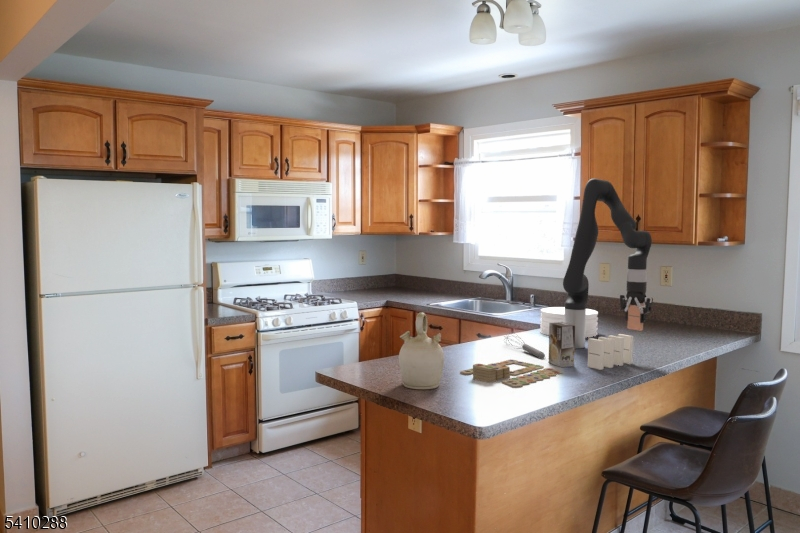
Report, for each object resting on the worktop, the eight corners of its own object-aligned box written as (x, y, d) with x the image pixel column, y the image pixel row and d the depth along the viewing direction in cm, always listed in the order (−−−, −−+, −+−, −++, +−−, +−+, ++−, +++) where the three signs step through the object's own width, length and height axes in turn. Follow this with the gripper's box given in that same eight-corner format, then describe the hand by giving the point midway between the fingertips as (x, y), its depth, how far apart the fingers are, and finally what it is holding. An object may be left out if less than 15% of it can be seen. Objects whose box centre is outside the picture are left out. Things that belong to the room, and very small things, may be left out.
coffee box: (575, 366, 248) (576, 325, 246) (561, 367, 245) (562, 326, 244) (561, 361, 256) (562, 321, 255) (547, 362, 254) (548, 322, 253)
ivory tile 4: (600, 369, 242) (601, 341, 242) (587, 366, 247) (588, 338, 246) (603, 369, 243) (604, 340, 243) (590, 366, 248) (591, 338, 247)
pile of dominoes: (515, 390, 213) (516, 374, 213) (454, 376, 233) (454, 361, 232) (570, 373, 238) (570, 359, 237) (510, 361, 257) (510, 348, 257)
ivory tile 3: (610, 367, 246) (611, 339, 245) (597, 364, 251) (598, 337, 250) (613, 367, 247) (614, 339, 246) (600, 364, 252) (601, 336, 251)
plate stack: (588, 340, 304) (589, 316, 303) (532, 334, 318) (532, 311, 317) (603, 332, 327) (604, 309, 327) (550, 326, 342) (551, 305, 341)
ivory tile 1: (629, 364, 253) (630, 336, 252) (616, 361, 257) (617, 334, 257) (632, 363, 254) (633, 336, 253) (619, 360, 258) (620, 333, 258)
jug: (389, 386, 214) (390, 313, 212) (414, 377, 227) (415, 308, 225) (428, 394, 206) (429, 317, 204) (452, 384, 219) (453, 311, 217)
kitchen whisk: (538, 360, 258) (539, 345, 258) (500, 345, 290) (500, 331, 290) (551, 359, 260) (552, 344, 260) (512, 344, 292) (512, 331, 292)
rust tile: (640, 330, 255) (641, 303, 254) (627, 328, 260) (628, 301, 259) (643, 330, 256) (643, 303, 255) (630, 328, 261) (631, 301, 260)
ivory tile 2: (620, 365, 249) (621, 338, 248) (607, 363, 254) (608, 335, 253) (623, 365, 250) (624, 337, 249) (610, 362, 255) (611, 335, 254)
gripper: (658, 281, 253) (656, 323, 254) (627, 278, 265) (625, 318, 266) (646, 282, 249) (645, 325, 250) (615, 279, 260) (614, 320, 262)
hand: (635, 321), depth 258 cm, fingers closed on rust tile, 6 cm apart
